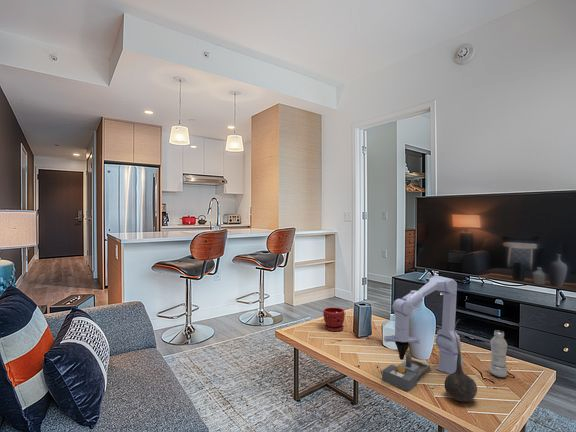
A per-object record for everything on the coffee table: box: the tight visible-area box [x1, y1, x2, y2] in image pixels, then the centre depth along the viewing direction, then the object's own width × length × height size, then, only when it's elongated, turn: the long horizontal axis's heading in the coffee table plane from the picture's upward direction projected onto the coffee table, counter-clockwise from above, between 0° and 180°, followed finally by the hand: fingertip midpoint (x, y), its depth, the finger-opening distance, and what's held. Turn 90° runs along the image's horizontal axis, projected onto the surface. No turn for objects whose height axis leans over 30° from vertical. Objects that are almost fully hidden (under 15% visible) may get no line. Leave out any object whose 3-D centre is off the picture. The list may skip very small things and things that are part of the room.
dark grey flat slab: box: [411, 359, 431, 383], centre depth 149 cm, size 10×16×2 cm, turn 134°
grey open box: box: [381, 364, 418, 392], centre depth 140 cm, size 12×8×5 cm, turn 44°
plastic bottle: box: [489, 329, 508, 378], centre depth 147 cm, size 6×7×20 cm
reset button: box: [397, 364, 405, 374], centre depth 141 cm, size 3×3×4 cm
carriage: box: [397, 353, 419, 374], centre depth 146 cm, size 7×6×8 cm
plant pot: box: [322, 307, 346, 332], centre depth 204 cm, size 13×13×12 cm
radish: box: [444, 320, 478, 403], centre depth 129 cm, size 11×14×30 cm
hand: (401, 358), depth 141 cm, fingers closed
